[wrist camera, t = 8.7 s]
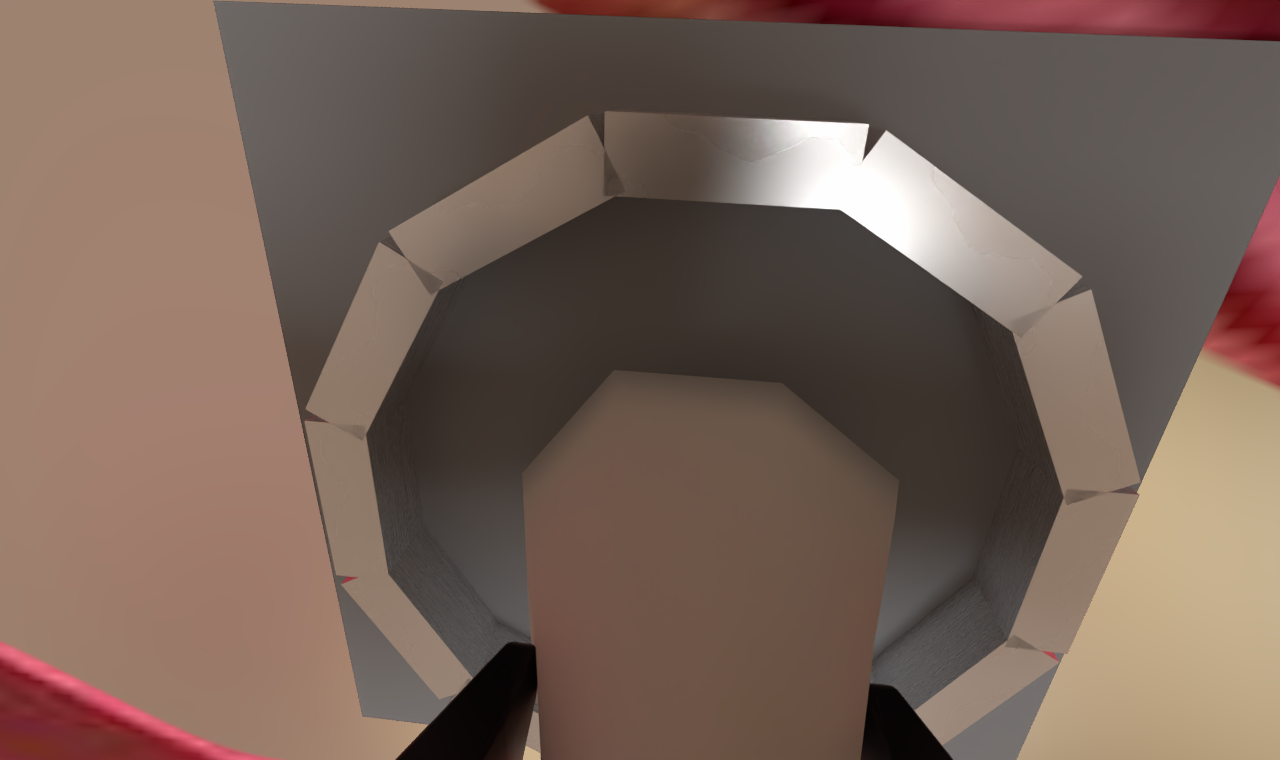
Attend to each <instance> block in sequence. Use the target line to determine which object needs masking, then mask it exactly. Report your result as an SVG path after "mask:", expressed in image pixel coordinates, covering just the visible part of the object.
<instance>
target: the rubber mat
mask: <svg viewBox="0 0 1280 760" xmlns="http://www.w3.org/2000/svg"><path fill="white" fill-rule="evenodd" d="M214 6H215V10H216V15H217V20H218V25H219V30H220V34H221V39H222V44H223V49H224V54H225V59H226V63H227V68H228V73H229V77H230V82H231V87H232V92H233V97H234V102H235V106H236V111H237V116H238V121H239V126H240V131H241V135H242V140H243V145H244V150H245V155H246V159H247V164H248V169H249V174H250V178H251V183H252V188H253V193H254V197H255V202H256V207H257V212H258V217H259V222H260V227H261V231H262V236H263V240H264V246H265V250H266V255H267V260H268V265H269V270H270V274H271V279H272V284H273V289H274V294H275V299H276V303H277V308H278V313H279V318H280V323H281V327H282V332H283V337H284V342H285V347H286V351H287V356H288V361H289V366H290V370H291V375H292V380H293V385H294V390H295V394H296V399H297V404H298V408H299V414H300V419H301V423H302V428H303V433H304V438H305V443H306V447H307V452H308V457H309V462H310V466H311V471H312V476H313V481H314V486H315V490H316V495H317V500H318V505H319V510H320V515H321V519H322V524H323V529H324V534H325V539H326V543H327V548H328V553H329V558H330V562H331V567H332V572H333V577H334V582H335V586H336V591H337V596H338V601H339V605H340V610H341V615H342V620H343V624H344V630H345V635H346V639H347V644H348V649H349V654H350V659H351V663H352V668H353V672H354V678H355V683H356V687H357V692H358V697H359V702H360V706H361V711H362V716H364V717H373V718H380V719H388V720H396V721H404V722H413V723H420V724H428V725H429V724H430V723H431V722H432V721H433V720H434V719H435V718H436V717H437V716H438V715H439V713H440V712H441V711H442V710H443V709H444V708H445V707H446V706H447V705H448V703H449V700H450V698H451V696H452V695H451V696H448V697H445V698H442V699H438V698H437V696H436V695H435V694H434V693H433V692H432V691H431V689H430V688H429V687H428V686H427V685H426V684H425V682H424V681H423V680H422V679H421V678H420V677H419V675H418V674H417V673H416V672H415V671H414V669H413V668H412V667H411V666H410V665H409V664H408V662H407V661H406V660H405V659H404V658H403V657H402V655H401V654H400V653H399V652H398V651H397V650H396V648H395V647H394V646H393V645H392V644H391V643H390V641H389V640H388V639H387V638H386V637H385V636H384V634H383V633H382V632H381V631H380V630H379V628H378V627H377V626H376V625H375V624H374V623H373V621H372V620H371V619H370V618H369V617H368V616H367V614H366V613H365V612H364V611H363V610H362V609H361V607H360V606H359V605H358V604H357V603H356V602H355V600H354V599H353V598H352V597H351V596H350V595H349V593H348V592H347V591H346V590H345V589H344V588H343V586H342V585H341V584H342V582H343V581H344V580H345V578H346V577H347V576H340V575H336V572H335V568H334V563H333V558H332V553H331V548H330V543H329V538H328V534H327V529H326V524H325V519H324V514H323V509H322V504H321V500H320V495H319V490H318V485H317V480H316V475H315V470H314V466H313V461H312V456H311V451H310V446H309V441H308V436H307V432H306V427H305V422H304V420H306V419H307V418H308V417H309V416H311V415H312V414H313V413H311V412H309V411H308V410H306V406H307V404H308V402H309V400H310V397H311V395H312V393H313V390H314V388H315V386H316V384H317V381H318V379H319V377H320V375H321V372H322V370H323V368H324V365H325V363H326V361H327V359H328V356H329V354H330V352H331V350H332V347H333V345H334V343H335V341H336V338H337V336H338V334H339V331H340V329H341V327H342V325H343V322H344V320H345V318H346V316H347V313H348V311H349V309H350V306H351V304H352V302H353V300H354V297H355V295H356V293H357V291H358V288H359V286H360V284H361V282H362V279H363V277H364V275H365V272H366V270H367V268H368V266H369V263H370V261H371V259H372V257H373V254H374V252H375V250H376V247H377V245H378V243H379V242H380V241H382V240H384V239H387V238H389V237H391V234H390V233H389V231H390V230H391V229H393V228H395V227H397V226H398V225H400V224H402V223H403V222H405V221H407V220H409V219H410V218H412V217H414V216H415V215H417V214H419V213H421V212H422V211H424V210H426V209H427V208H429V207H431V206H433V205H434V204H436V203H438V202H439V201H441V200H443V199H445V198H446V197H448V196H450V195H452V194H453V193H455V192H457V191H458V190H460V189H462V188H464V187H465V186H467V185H469V184H470V183H472V182H474V181H476V180H477V179H479V178H481V177H482V176H484V175H486V174H488V173H489V172H491V171H493V170H494V169H496V168H498V167H500V166H501V165H503V164H505V163H507V162H508V161H510V160H512V159H513V158H515V157H517V156H519V155H520V154H522V153H524V152H525V151H527V150H529V149H531V148H532V147H534V146H536V145H537V144H539V143H541V142H543V141H544V140H546V139H548V138H549V137H551V136H553V135H555V134H556V133H558V132H560V131H562V130H563V129H565V128H567V127H568V126H570V125H572V124H574V123H575V122H577V121H579V120H580V119H582V118H584V117H586V116H587V115H594V114H603V113H605V111H611V110H639V111H660V112H680V113H700V114H721V115H741V116H761V117H782V118H802V119H822V120H843V121H850V122H857V123H864V124H869V128H876V129H882V130H887V131H888V132H889V133H891V134H892V135H893V136H895V137H896V138H898V139H899V140H900V141H902V142H903V143H904V144H906V145H907V146H908V147H910V148H911V149H912V150H914V151H915V152H916V153H918V154H919V155H920V156H922V157H923V158H924V159H926V160H927V161H928V162H930V163H931V164H932V165H934V166H935V167H936V168H938V169H939V170H940V171H942V172H943V173H944V174H946V175H947V176H949V177H950V178H951V179H953V180H954V181H955V182H957V183H958V184H959V185H961V186H962V187H963V188H965V189H966V190H967V191H969V192H970V193H971V194H973V195H974V196H975V197H977V198H978V199H979V200H981V201H982V202H983V203H985V204H986V205H987V206H989V207H990V208H991V209H993V210H994V211H995V212H997V213H998V214H999V215H1001V216H1002V217H1004V218H1005V219H1006V220H1008V221H1009V222H1010V223H1012V224H1013V225H1014V226H1016V227H1017V228H1018V229H1020V230H1021V231H1022V232H1024V233H1025V234H1026V235H1028V236H1029V237H1030V238H1032V239H1033V240H1034V241H1036V242H1037V243H1038V244H1040V245H1041V246H1042V247H1044V248H1045V249H1046V250H1048V251H1049V252H1050V253H1052V254H1053V255H1055V256H1056V257H1057V258H1059V259H1060V260H1061V261H1063V262H1064V263H1065V264H1067V265H1068V266H1069V267H1071V268H1072V269H1073V270H1075V271H1076V272H1077V273H1079V274H1080V275H1081V276H1083V277H1082V278H1081V279H1080V280H1079V281H1078V282H1077V283H1080V284H1082V285H1084V286H1086V287H1088V288H1090V289H1091V290H1092V294H1093V298H1094V302H1095V305H1096V309H1097V313H1098V317H1099V321H1100V325H1101V329H1102V333H1103V337H1104V341H1105V344H1106V348H1107V352H1108V356H1109V360H1110V364H1111V368H1112V372H1113V376H1114V380H1115V384H1116V387H1117V391H1118V395H1119V399H1120V403H1121V407H1122V411H1123V415H1124V419H1125V423H1126V426H1127V430H1128V434H1129V438H1130V442H1131V446H1132V450H1133V454H1134V458H1135V462H1136V465H1137V469H1138V473H1139V477H1140V481H1141V482H1142V480H1143V477H1144V475H1145V473H1146V471H1147V468H1148V466H1149V464H1150V462H1151V459H1152V458H1153V455H1154V453H1155V451H1156V449H1157V446H1158V444H1159V442H1160V440H1161V438H1162V435H1163V433H1164V431H1165V429H1166V426H1167V424H1168V422H1169V420H1170V418H1171V415H1172V413H1173V411H1174V409H1175V406H1176V404H1177V402H1178V400H1179V398H1180V395H1181V393H1182V391H1183V389H1184V387H1185V384H1186V382H1187V380H1188V378H1189V375H1190V373H1191V371H1192V369H1193V366H1194V364H1195V362H1196V360H1197V358H1198V356H1199V353H1200V351H1201V349H1202V347H1203V344H1204V342H1205V340H1206V338H1207V336H1208V333H1209V331H1210V329H1211V327H1212V324H1213V322H1214V320H1215V318H1216V316H1217V313H1218V311H1219V309H1220V307H1221V305H1222V302H1223V300H1224V298H1225V296H1226V293H1227V291H1228V289H1229V287H1230V285H1231V282H1232V280H1233V278H1234V276H1235V273H1236V271H1237V269H1238V267H1239V265H1240V262H1241V260H1242V258H1243V256H1244V254H1245V251H1246V249H1247V247H1248V245H1249V242H1250V240H1251V238H1252V236H1253V234H1254V231H1255V229H1256V227H1257V225H1258V222H1259V220H1260V218H1261V216H1262V214H1263V211H1264V209H1265V207H1266V205H1267V203H1268V200H1269V198H1270V196H1271V194H1272V191H1273V189H1274V187H1275V185H1276V183H1277V180H1278V178H1279V176H1280V41H1255V40H1228V39H1202V38H1176V37H1150V36H1124V35H1098V34H1071V33H1045V32H1019V31H993V30H967V29H941V28H915V27H888V26H862V25H836V24H810V23H784V22H758V21H731V20H705V19H679V18H653V17H627V16H601V15H574V14H548V13H522V12H521V13H520V12H495V11H467V10H443V9H417V8H416V9H415V8H391V7H365V6H362V7H361V6H337V5H312V4H311V5H310V4H286V3H261V2H234V1H214ZM614 370H622V371H635V372H648V373H660V374H673V375H686V376H699V377H712V378H725V379H738V380H750V381H763V382H776V383H783V384H784V385H785V386H786V387H787V388H789V389H790V390H791V391H792V392H793V393H795V394H796V395H797V396H798V397H799V398H801V399H802V400H803V401H804V402H805V403H807V404H808V405H809V406H810V407H811V408H813V409H814V410H815V411H816V412H817V413H819V414H820V415H821V416H822V417H823V418H825V419H826V420H827V421H828V422H829V423H831V424H832V425H833V426H834V427H835V428H837V429H838V430H839V431H840V432H841V433H843V434H844V435H845V436H846V437H847V438H849V439H850V440H851V441H852V442H853V443H855V444H856V445H857V446H858V447H859V448H861V449H862V450H863V451H864V452H865V453H867V454H868V455H869V456H870V457H871V458H873V459H874V460H875V461H876V462H877V463H879V464H880V465H881V466H882V467H883V468H885V469H886V470H887V471H888V472H889V473H891V474H892V475H893V476H894V477H895V478H897V479H898V480H899V487H898V496H897V504H896V513H895V521H894V527H893V533H892V539H891V545H890V551H889V557H888V563H887V569H886V575H885V581H884V587H883V593H882V600H881V606H880V612H879V618H878V624H877V630H876V636H875V642H874V650H873V659H872V660H874V659H875V658H876V657H877V656H878V655H880V654H881V653H882V652H883V651H884V650H886V649H887V648H888V647H889V646H890V645H892V644H893V643H894V642H895V641H896V640H898V639H899V638H900V637H901V636H902V635H904V634H905V633H906V632H907V631H908V630H910V629H911V628H912V627H913V626H914V625H916V624H917V623H918V622H919V621H920V620H922V619H923V618H924V617H925V616H926V615H928V614H929V613H930V612H931V611H933V610H934V609H935V608H936V607H937V606H939V605H940V604H941V603H942V602H943V601H945V600H946V599H947V598H948V597H949V596H951V595H952V594H953V593H954V592H955V591H957V590H958V589H959V588H960V587H961V586H963V585H964V584H965V583H966V582H967V581H969V580H970V579H971V578H972V577H973V574H974V571H975V569H976V566H977V563H978V560H979V557H980V554H981V551H982V548H983V545H984V542H985V539H986V536H987V534H988V531H989V528H990V525H991V522H992V519H993V516H994V513H995V510H996V507H997V504H998V501H999V498H1000V496H1001V493H1002V490H1003V487H1004V484H1005V481H1006V478H1007V475H1008V472H1009V469H1010V466H1011V463H1012V461H1013V458H1014V455H1015V452H1016V449H1017V443H1016V440H1015V437H1014V434H1013V431H1012V428H1011V425H1010V422H1009V419H1008V416H1007V413H1006V410H1005V407H1004V403H1003V400H1002V397H1001V394H1000V391H999V388H998V385H997V382H996V379H995V376H994V373H993V370H992V367H991V364H990V361H989V358H988V355H987V352H986V349H985V346H984V343H983V340H982V337H981V334H980V331H979V328H978V325H977V322H976V319H975V316H974V313H973V310H972V307H971V304H970V301H969V300H967V299H966V298H964V297H963V296H961V295H960V294H959V293H957V292H956V291H954V290H953V289H952V288H950V287H949V286H947V285H946V284H945V283H943V282H942V281H940V280H939V279H938V278H936V277H935V276H933V275H932V274H931V273H929V272H928V271H926V270H925V269H924V268H922V267H921V266H919V265H918V264H917V263H915V262H914V261H912V260H911V259H910V258H908V257H907V256H905V255H904V254H902V253H901V252H900V251H898V250H897V249H895V248H894V247H893V246H891V245H890V244H888V243H887V242H886V241H884V240H883V239H881V238H880V237H879V236H877V235H876V234H874V233H873V232H872V231H870V230H869V229H867V228H866V227H865V226H863V225H862V224H860V223H859V222H858V221H856V220H855V219H853V218H852V217H850V216H849V215H848V214H846V213H845V212H843V211H842V210H838V209H821V208H804V207H787V206H770V205H754V204H737V203H720V202H703V201H686V200H670V199H653V198H636V197H619V196H615V197H613V198H611V199H609V200H607V201H605V202H603V203H602V204H600V205H598V206H596V207H594V208H592V209H590V210H588V211H587V212H585V213H583V214H581V215H579V216H577V217H575V218H573V219H572V220H570V221H568V222H566V223H564V224H562V225H560V226H558V227H557V228H555V229H553V230H551V231H549V232H547V233H545V234H543V235H542V236H540V237H538V238H536V239H534V240H532V241H530V242H528V243H527V244H525V245H523V246H521V247H519V248H517V249H515V250H513V251H512V252H510V253H508V254H506V255H504V256H502V257H500V258H498V259H497V260H495V261H493V262H491V263H489V264H487V265H485V266H483V267H482V268H480V269H478V270H476V271H474V272H472V273H470V275H469V277H468V279H467V281H466V283H465V285H464V287H463V289H462V290H461V292H460V294H459V296H458V298H457V300H456V302H455V304H454V306H453V308H452V310H451V311H450V313H449V315H448V317H447V319H446V321H445V323H444V325H443V327H442V329H441V331H440V333H439V334H438V336H437V338H436V340H435V342H434V344H433V346H432V348H431V350H430V352H429V354H428V355H427V357H426V359H425V361H424V363H423V365H422V367H421V369H420V371H419V373H418V375H417V376H416V378H415V380H414V382H413V384H412V386H411V388H410V390H409V392H408V394H407V396H408V404H409V412H410V420H411V428H412V436H413V444H414V452H415V460H416V468H417V476H418V484H419V492H420V500H421V508H422V516H423V523H424V524H425V525H426V526H427V528H428V529H429V530H430V532H431V533H432V534H433V536H434V537H435V538H436V540H437V541H438V542H439V544H440V545H441V546H442V548H443V549H444V550H445V551H446V553H447V554H448V555H449V557H450V558H451V559H452V561H453V562H454V563H455V565H456V566H457V567H458V569H459V570H460V571H461V573H462V574H463V575H464V576H465V578H466V579H467V580H468V582H469V583H470V584H471V586H472V587H473V588H474V590H475V591H476V592H477V594H478V595H479V596H480V598H481V599H482V600H483V601H484V603H485V604H486V605H487V607H488V608H489V609H490V611H491V612H492V613H493V615H494V616H495V617H496V619H497V620H498V621H499V622H500V623H502V624H504V625H505V626H507V627H509V628H511V629H513V630H515V631H517V632H519V633H520V634H522V635H524V636H526V637H528V638H530V639H531V633H530V623H529V606H528V587H527V566H526V545H525V524H524V503H523V482H522V473H523V472H524V470H525V469H526V468H527V467H528V466H529V465H530V464H531V463H532V461H533V460H534V459H535V458H536V457H537V456H538V455H539V454H540V452H541V451H542V450H543V449H544V448H545V447H546V446H547V445H548V443H549V442H550V441H551V440H552V439H553V438H554V437H555V436H556V435H557V433H558V432H559V431H560V430H561V429H562V428H563V427H564V426H565V424H566V423H567V422H568V421H569V420H570V419H571V418H572V417H573V415H574V414H575V413H576V412H577V411H578V410H579V409H580V408H581V406H582V405H583V404H584V403H585V402H586V401H587V400H588V399H589V398H590V396H591V395H592V394H593V393H594V392H595V391H596V390H597V389H598V387H599V386H600V385H601V384H602V383H603V382H604V381H605V380H606V378H607V377H608V376H609V375H610V374H611V373H612V372H613V371H614ZM1141 482H1140V483H1137V484H1134V485H1131V486H1130V487H1131V488H1132V489H1133V490H1134V491H1136V492H1137V491H1138V488H1139V486H1140V484H1141ZM1053 653H1054V654H1055V656H1056V657H1057V659H1058V661H1059V662H1060V661H1061V659H1062V657H1063V655H1064V653H1056V652H1053ZM1059 664H1060V663H1058V664H1057V665H1055V666H1054V667H1053V668H1051V669H1050V670H1048V671H1047V672H1045V673H1044V674H1043V675H1041V676H1040V677H1038V678H1037V679H1036V680H1034V681H1033V682H1031V683H1030V684H1028V685H1027V686H1026V687H1024V688H1023V689H1021V690H1020V691H1019V692H1017V693H1016V694H1014V695H1013V696H1012V697H1010V698H1009V699H1007V700H1006V701H1004V702H1003V703H1002V704H1000V705H999V706H997V707H996V708H995V709H993V710H992V711H990V712H989V713H987V714H986V715H985V716H983V717H982V718H980V719H979V720H978V721H976V722H975V723H973V724H972V725H970V726H969V727H968V728H966V729H965V730H963V731H962V732H961V733H959V734H958V735H956V736H955V737H953V738H952V739H951V740H949V741H948V742H946V743H945V744H944V745H942V746H943V747H944V748H945V750H946V751H947V752H948V753H949V754H950V756H951V757H952V758H953V759H954V760H1016V759H1017V757H1018V755H1019V752H1020V750H1021V748H1022V746H1023V744H1024V741H1025V739H1026V737H1027V735H1028V732H1029V730H1030V728H1031V726H1032V723H1033V721H1034V719H1035V717H1036V715H1037V712H1038V710H1039V708H1040V706H1041V703H1042V701H1043V699H1044V697H1045V695H1046V692H1047V690H1048V688H1049V686H1050V684H1051V681H1052V679H1053V677H1054V675H1055V673H1056V670H1057V668H1058V666H1059Z"/></svg>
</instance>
